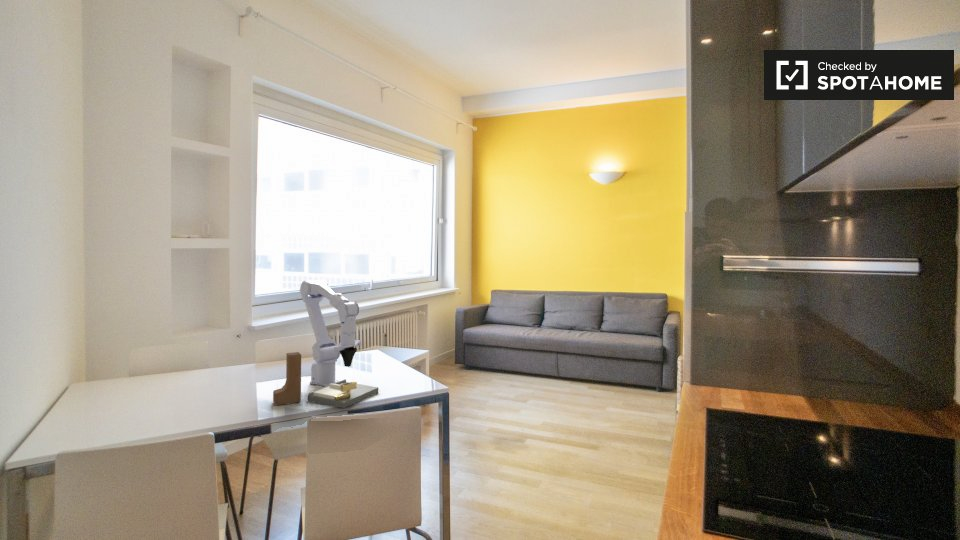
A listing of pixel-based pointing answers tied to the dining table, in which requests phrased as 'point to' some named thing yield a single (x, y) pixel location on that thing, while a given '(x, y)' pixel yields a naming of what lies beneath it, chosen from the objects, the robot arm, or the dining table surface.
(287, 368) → the wooden block
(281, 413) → the dining table surface
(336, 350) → the robot arm
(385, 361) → the dining table surface
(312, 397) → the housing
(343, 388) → the key
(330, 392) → the cover
